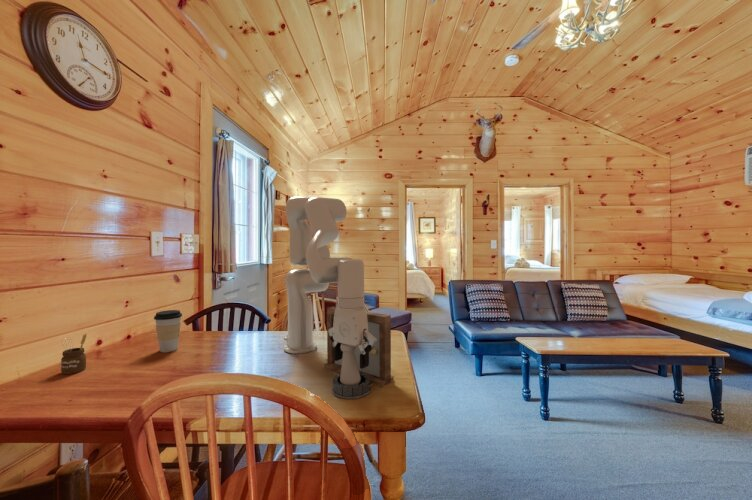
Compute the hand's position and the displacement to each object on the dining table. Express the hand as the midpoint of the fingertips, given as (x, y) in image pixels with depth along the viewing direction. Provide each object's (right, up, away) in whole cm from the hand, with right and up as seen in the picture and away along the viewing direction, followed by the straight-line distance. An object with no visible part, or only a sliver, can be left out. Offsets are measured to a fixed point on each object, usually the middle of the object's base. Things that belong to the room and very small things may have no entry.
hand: (351, 363), depth 88 cm
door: (+1, -6, +11) cm, 12 cm away
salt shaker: (0, -7, 0) cm, 7 cm away
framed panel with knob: (+1, -7, +11) cm, 14 cm away
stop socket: (0, -8, 0) cm, 8 cm away
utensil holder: (-92, -8, +14) cm, 94 cm away
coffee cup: (-75, -8, +35) cm, 83 cm away
